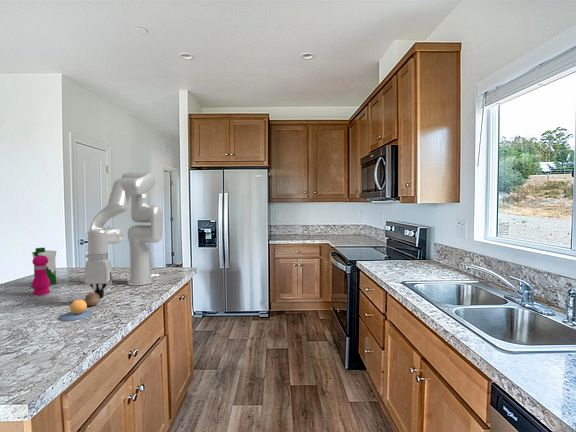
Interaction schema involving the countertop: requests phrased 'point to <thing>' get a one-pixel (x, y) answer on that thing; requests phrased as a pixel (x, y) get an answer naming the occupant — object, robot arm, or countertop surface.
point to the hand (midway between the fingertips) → (99, 298)
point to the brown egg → (92, 299)
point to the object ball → (78, 306)
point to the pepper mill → (40, 275)
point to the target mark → (74, 316)
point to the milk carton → (50, 265)
